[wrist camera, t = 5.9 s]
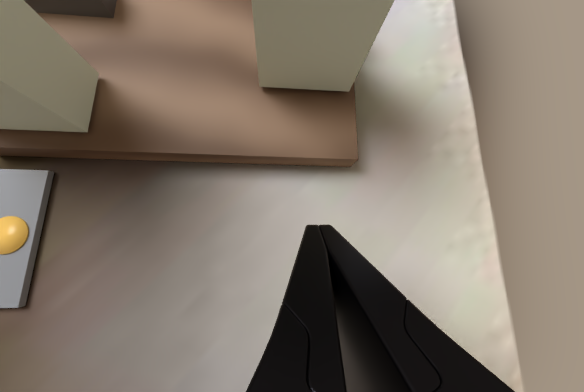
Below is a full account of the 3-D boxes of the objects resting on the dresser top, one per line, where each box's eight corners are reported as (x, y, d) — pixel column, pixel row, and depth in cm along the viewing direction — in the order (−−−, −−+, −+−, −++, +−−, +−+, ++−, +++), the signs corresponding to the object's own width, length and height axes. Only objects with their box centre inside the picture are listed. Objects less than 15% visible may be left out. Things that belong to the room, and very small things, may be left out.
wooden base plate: (350, 166, 17) (374, 143, 13) (-2, 155, 15) (-99, 124, 11) (344, 25, 19) (362, -31, 15) (39, 2, 17) (-29, -68, 13)
